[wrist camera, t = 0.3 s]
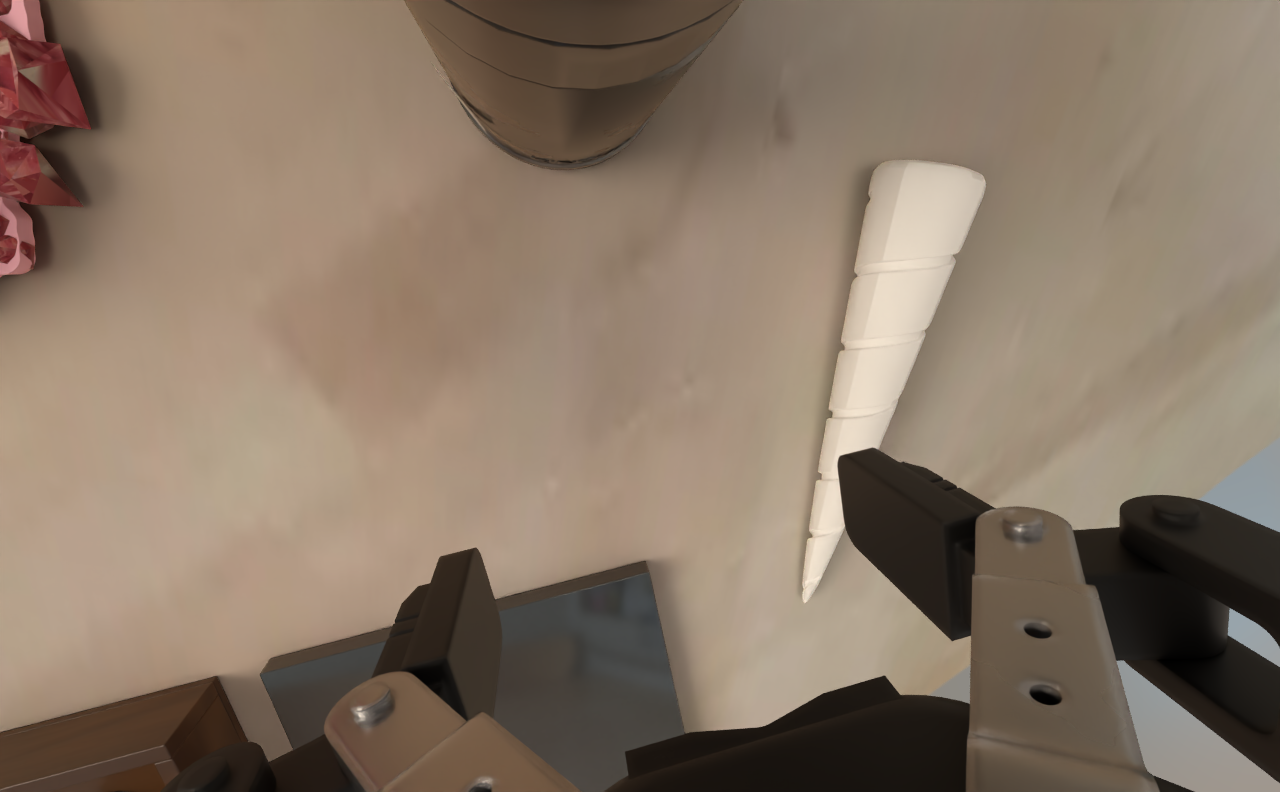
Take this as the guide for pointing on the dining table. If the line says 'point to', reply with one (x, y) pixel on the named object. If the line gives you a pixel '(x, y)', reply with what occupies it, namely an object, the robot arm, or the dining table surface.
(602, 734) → the slate board
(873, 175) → the unicorn horn
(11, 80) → the candy landscape model
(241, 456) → the dining table surface
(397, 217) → the dining table surface
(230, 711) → the wooden box
